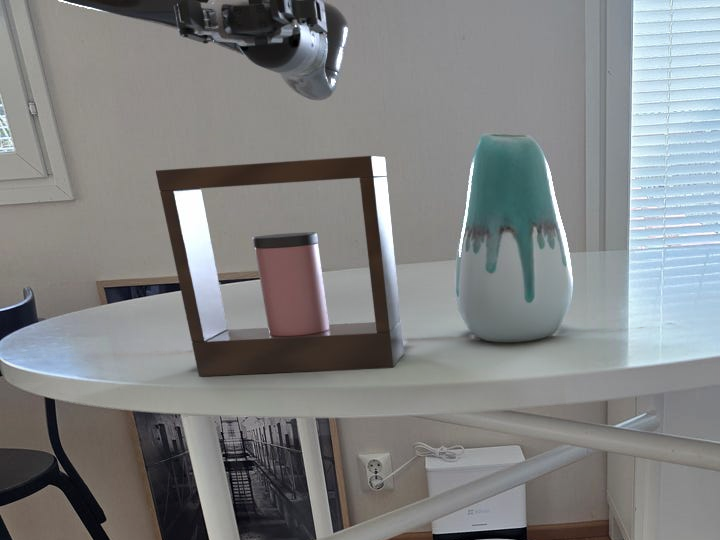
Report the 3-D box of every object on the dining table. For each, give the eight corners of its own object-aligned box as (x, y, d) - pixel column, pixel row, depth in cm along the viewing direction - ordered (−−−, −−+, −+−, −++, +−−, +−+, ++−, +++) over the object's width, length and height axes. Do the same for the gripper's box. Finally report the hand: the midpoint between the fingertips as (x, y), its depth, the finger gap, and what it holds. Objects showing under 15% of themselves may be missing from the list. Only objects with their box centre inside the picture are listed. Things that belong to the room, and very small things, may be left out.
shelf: (198, 376, 78) (154, 170, 70) (222, 362, 83) (184, 170, 75) (393, 367, 76) (371, 155, 68) (404, 353, 82) (384, 156, 74)
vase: (593, 338, 83) (594, 124, 74) (483, 353, 80) (471, 130, 71) (542, 323, 93) (538, 132, 84) (442, 336, 89) (427, 138, 81)
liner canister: (260, 337, 76) (243, 239, 72) (278, 327, 81) (263, 234, 77) (322, 334, 76) (308, 235, 72) (335, 324, 81) (323, 231, 77)
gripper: (209, -5, 93) (146, -38, 78) (337, -16, 91) (297, -51, 77) (222, 77, 96) (165, 60, 82) (346, 68, 95) (309, 49, 81)
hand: (229, 6), depth 80 cm, fingers open, 8 cm apart
